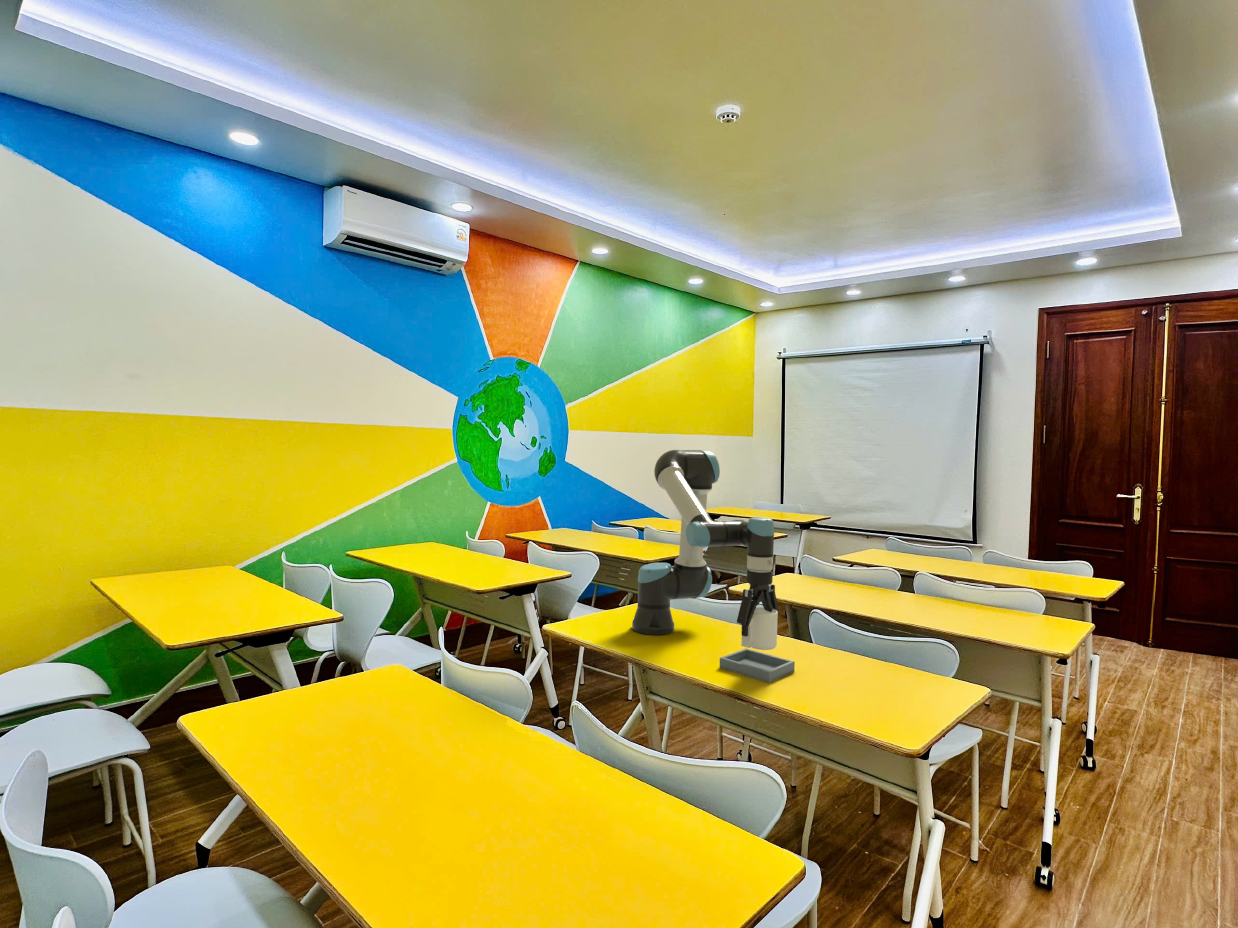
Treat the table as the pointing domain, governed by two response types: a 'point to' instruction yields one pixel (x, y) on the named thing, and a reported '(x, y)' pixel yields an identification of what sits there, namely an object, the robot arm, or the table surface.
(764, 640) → the mug
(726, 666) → the tray
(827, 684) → the table surface
